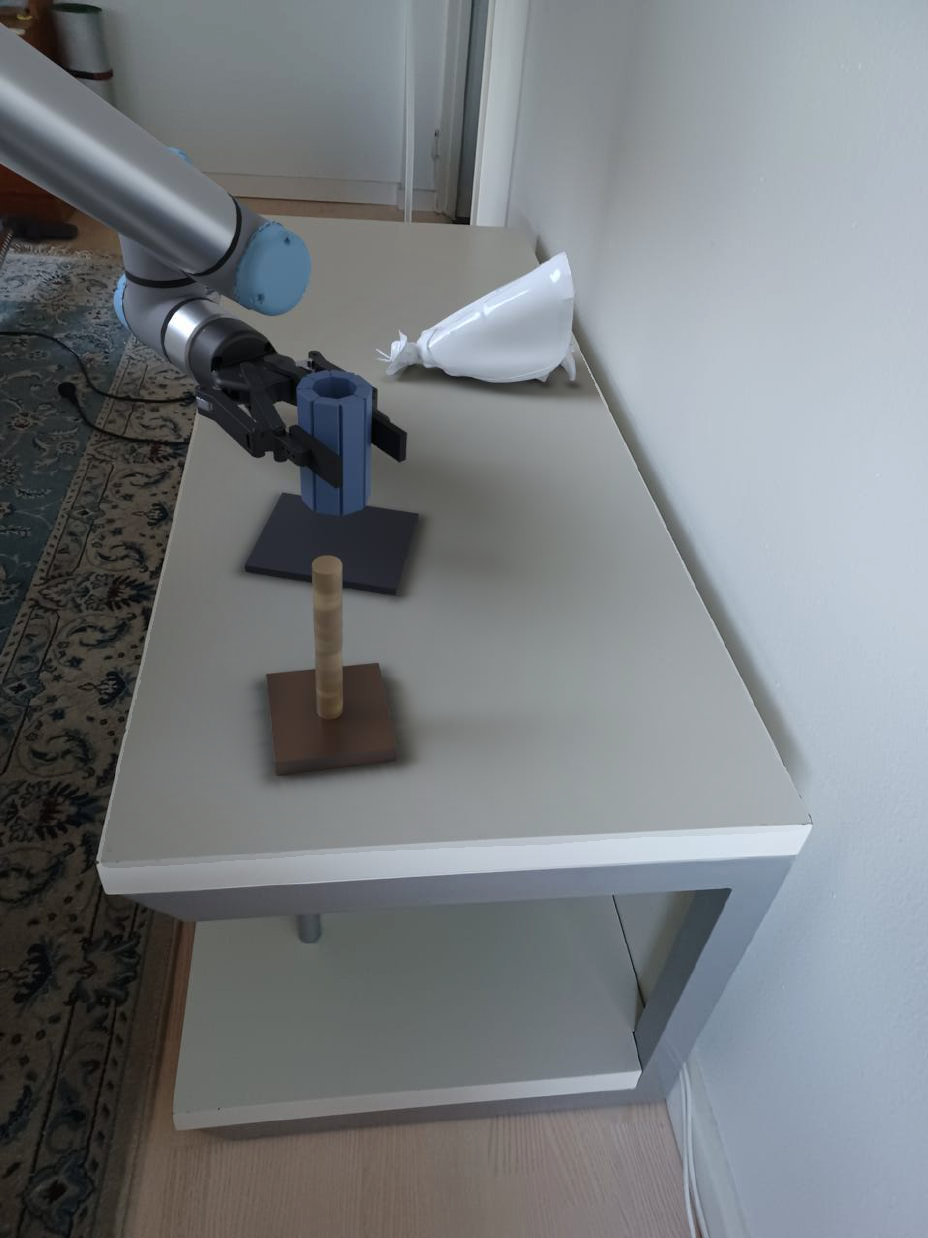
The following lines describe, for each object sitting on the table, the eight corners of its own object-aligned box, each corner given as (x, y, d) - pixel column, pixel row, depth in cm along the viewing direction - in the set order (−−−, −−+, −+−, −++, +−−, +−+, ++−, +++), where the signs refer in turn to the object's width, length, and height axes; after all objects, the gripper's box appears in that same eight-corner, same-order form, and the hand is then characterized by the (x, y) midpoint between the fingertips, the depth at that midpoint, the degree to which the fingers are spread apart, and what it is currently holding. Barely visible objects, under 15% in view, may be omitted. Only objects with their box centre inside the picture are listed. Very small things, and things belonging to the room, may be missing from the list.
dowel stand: (275, 775, 66) (262, 615, 55) (266, 686, 72) (253, 528, 62) (397, 760, 68) (406, 603, 57) (378, 675, 74) (383, 519, 64)
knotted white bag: (559, 363, 122) (373, 362, 119) (571, 237, 114) (372, 232, 110) (582, 396, 111) (378, 396, 108) (598, 259, 102) (377, 254, 99)
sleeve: (295, 509, 81) (289, 399, 73) (312, 473, 85) (309, 365, 78) (360, 519, 81) (361, 409, 73) (374, 483, 85) (377, 375, 78)
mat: (244, 571, 82) (244, 564, 82) (282, 498, 91) (282, 492, 91) (395, 595, 82) (395, 588, 81) (418, 519, 91) (419, 513, 90)
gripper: (305, 364, 95) (452, 462, 84) (137, 417, 85) (278, 537, 73) (302, 295, 90) (458, 388, 79) (123, 341, 80) (273, 458, 68)
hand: (371, 460), depth 76 cm, fingers closed on sleeve, 6 cm apart
